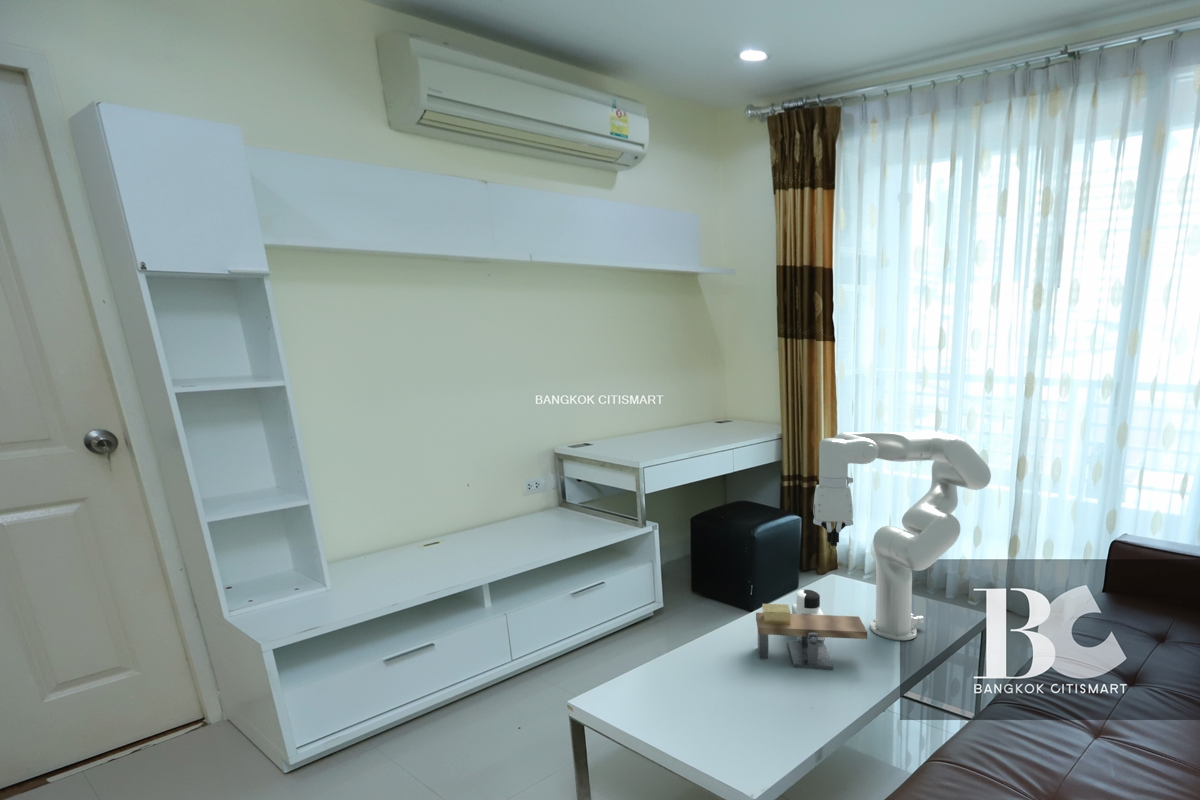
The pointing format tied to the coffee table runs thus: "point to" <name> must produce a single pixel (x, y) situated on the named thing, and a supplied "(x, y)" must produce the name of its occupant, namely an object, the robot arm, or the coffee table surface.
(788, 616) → the slider
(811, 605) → the container
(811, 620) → the beam
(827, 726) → the coffee table surface
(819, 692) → the coffee table surface
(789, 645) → the stand
